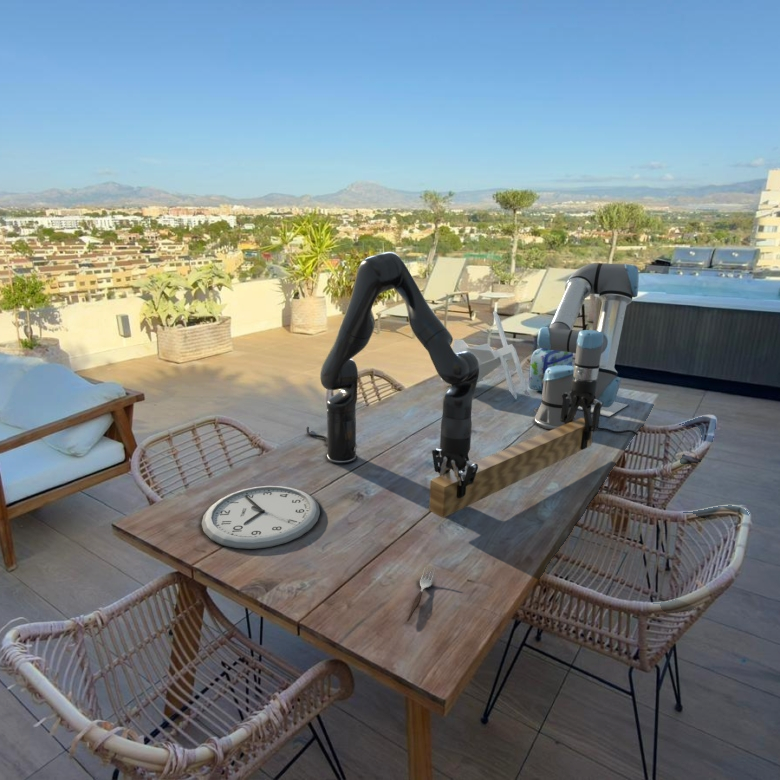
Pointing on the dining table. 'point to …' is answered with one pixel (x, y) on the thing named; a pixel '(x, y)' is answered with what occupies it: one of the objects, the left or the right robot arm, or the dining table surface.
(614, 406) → the invitation card
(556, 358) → the lunch box
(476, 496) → the post
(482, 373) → the white plastic object
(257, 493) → the wall clock
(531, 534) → the dining table surface
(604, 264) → the right robot arm
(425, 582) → the fork
